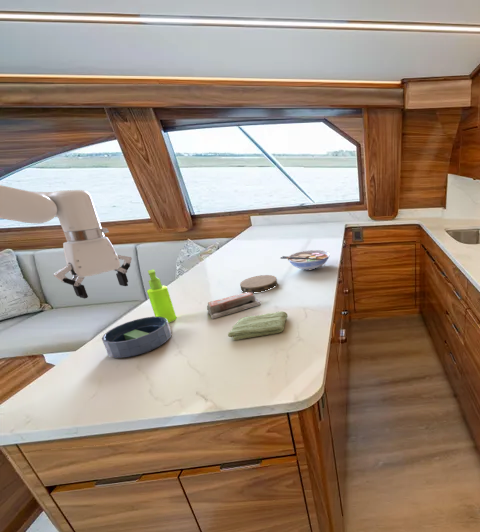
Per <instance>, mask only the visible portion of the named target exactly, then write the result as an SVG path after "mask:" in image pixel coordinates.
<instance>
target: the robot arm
mask: <svg viewBox="0 0 480 532" xmlns="http://www.w3.org/2000/svg"><path fill="white" fill-rule="evenodd" d="M54 218H58V221H59V223H60V227H61V229H62V232H63V235H64V237H65V240H66V241H65V242H63V243H62V246H63V254H64V255H63V256H64V259H65V263H66V265H64V266H63V267H62V268H59V270H56V272H54V273H53V277H55V278H56V279H58V280H59V281H60V282H61V283H64V284H67V285H70V286H72V287H73V290H74V293H75V295H76V297H79V298H81V299H84V300H85V299H88V298H89V295H88V293H87V290H86V287H85V285H84V284H82V283H83V281H84V279H85V278H88V277H93V276H96V275H100V274H105V273H109V272H112V271H115V272H116V279H117V281H118V284H119V286H121V287H128V286H129V284H128V283H129V279H128V276H127V273H128V270H129V269H130V267H131V263H132V259H133V258H132V257H131V256H126V255H120V254H118V253H117V251H116V249H115V247H114V246H113V244H112V242H111V241H110V239H109V237H107V236H106V234H107V233H109V232H110V231H109V228H107V227H103V226H102V225H101V221H100V218H99V216H98V213H97V211H96V207H95V204H94V200H93V198H92V196H91V193H90V192H89V191H87V190H83V189H66V190H56V191H31V190H25V189H19V188H16V187H11V186H6V185H2V184H0V219H1V220H7V221H15V222H19V223H25V224H26V223H27V224H44V223H47V222H49V221H51V220H53V219H54ZM120 260H121V261H123V263H122V264H121V261H120ZM68 273H69V275H70V276H72V277H71V278H68V277H67V276H66V275H67V274H68Z"/></svg>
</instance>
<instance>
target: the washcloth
mask: <svg viewBox="0 0 480 532" xmlns="http://www.w3.org/2000/svg"><path fill="white" fill-rule="evenodd" d="M288 316H289V315H288V313H287V312H286V311H283V310H282V311H276V312H270V313H264V314H258V315H250V316H244V317H241V318H240V319H239V320H237V322H236V323H235V324H234V325H233V326H232V329H231V330H230V331H229V332H228V333H227V337H229V338H232V340H233V341H238V340H244V339H249V338H256V337H261V336H267V335H268V336H269V335H275V334H279V333H281V332H283V331H284V329H285V325H286V323H285V322H286V321H287V319H288Z"/></svg>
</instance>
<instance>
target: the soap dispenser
mask: <svg viewBox="0 0 480 532" xmlns="http://www.w3.org/2000/svg"><path fill="white" fill-rule="evenodd" d="M147 273H148V275H149V278H150V279H149V280H148V281H147V282H148V285H149V289H147V290H146V293H147V296H148V299H149V302H150V305H151V308H152V311H153V314H154V317H164V318H166V319H167V320H168V323H171V322H174V321H176V319H177V315H176V312H175V309H174V305H173V303H172V298H171V295H170V292H169V290H168V286H166V285H163V284H162V281H161V278H159V277H157V275H156V270H155V269H154V268H153V269H149V270H147Z"/></svg>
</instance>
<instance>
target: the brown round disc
mask: <svg viewBox="0 0 480 532" xmlns="http://www.w3.org/2000/svg"><path fill="white" fill-rule="evenodd" d="M276 284H277V285H278V280H277V276H275V275H271V274H263V275H261V274H260V275H256V276H251V277H248V278H246V279H244V280H241V282H240V283H239V286H240V290H242V291H243V292H242V291H241V292H242V293H244V292H251V293H253V294H255V293H254V292H261V291H265V290H268V289H270V288H273V287H274V286H276ZM276 287H277V286H276ZM273 289H274V288H273ZM268 291H269V290H268ZM265 292H266V291H265ZM261 293H262V292H261Z"/></svg>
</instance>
